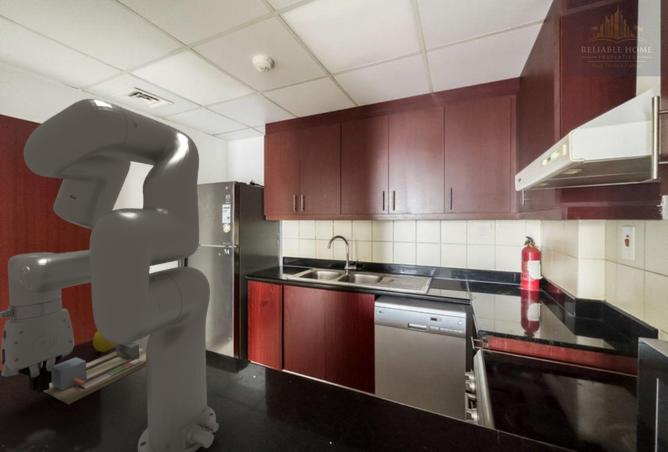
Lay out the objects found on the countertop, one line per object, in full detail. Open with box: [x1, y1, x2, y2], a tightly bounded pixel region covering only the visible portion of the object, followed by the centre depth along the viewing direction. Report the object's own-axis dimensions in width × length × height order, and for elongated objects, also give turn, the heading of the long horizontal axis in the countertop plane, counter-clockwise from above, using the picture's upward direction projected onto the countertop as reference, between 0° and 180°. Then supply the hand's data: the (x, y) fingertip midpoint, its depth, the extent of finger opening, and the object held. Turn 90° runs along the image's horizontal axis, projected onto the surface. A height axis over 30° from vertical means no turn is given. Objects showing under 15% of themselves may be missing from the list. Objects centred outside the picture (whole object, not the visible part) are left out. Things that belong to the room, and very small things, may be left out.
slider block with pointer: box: [51, 356, 87, 390], centre depth 62 cm, size 8×4×4 cm, turn 67°
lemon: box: [92, 330, 116, 353], centre depth 79 cm, size 6×6×8 cm
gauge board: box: [43, 342, 146, 405], centre depth 69 cm, size 14×20×5 cm
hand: (41, 389), depth 58 cm, fingers closed
